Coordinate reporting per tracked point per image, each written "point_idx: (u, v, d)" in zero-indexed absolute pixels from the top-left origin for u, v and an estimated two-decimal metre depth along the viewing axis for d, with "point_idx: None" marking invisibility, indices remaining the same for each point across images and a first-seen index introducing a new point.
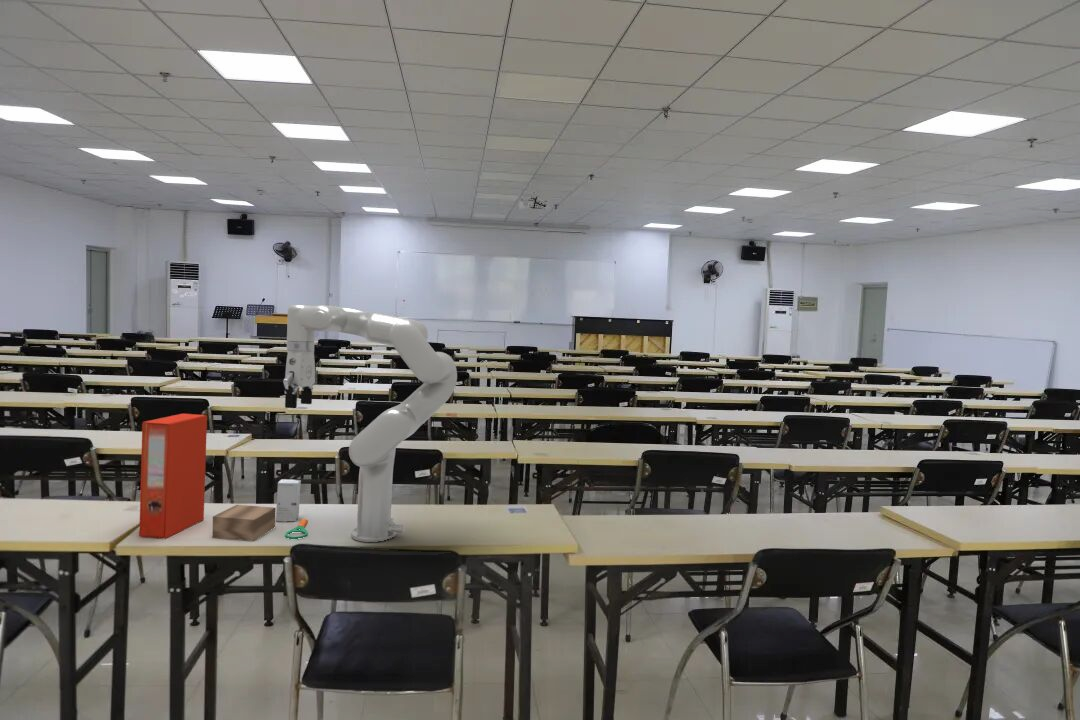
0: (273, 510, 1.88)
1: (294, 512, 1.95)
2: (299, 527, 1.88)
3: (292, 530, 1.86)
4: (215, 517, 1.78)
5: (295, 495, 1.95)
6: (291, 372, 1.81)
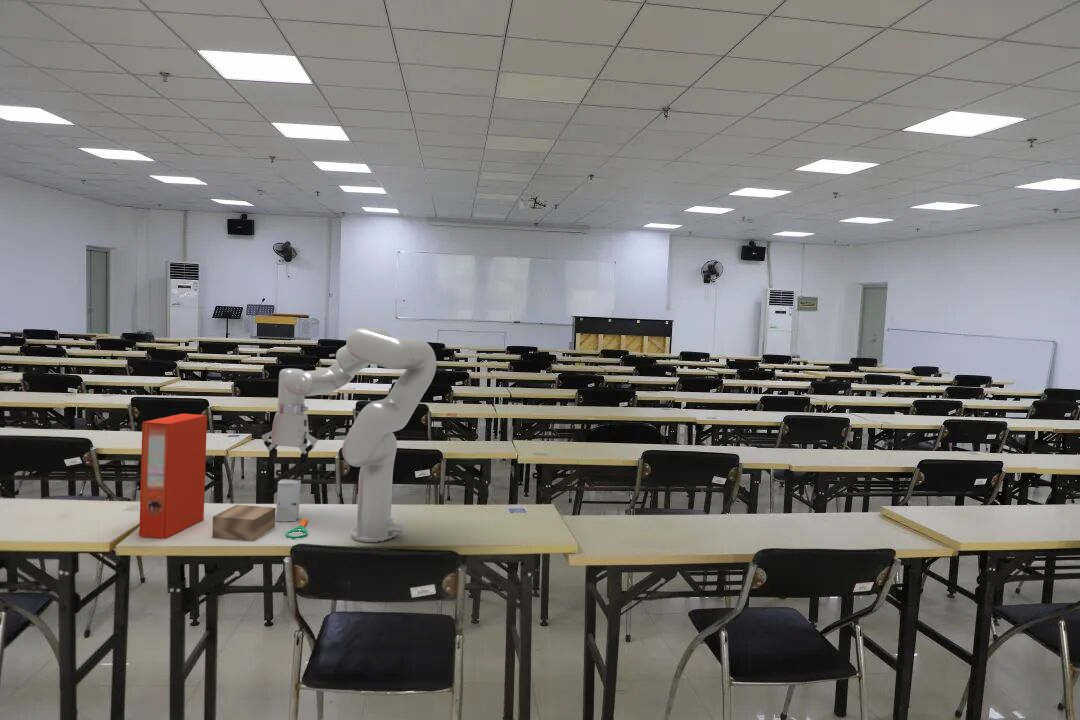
0: (273, 510, 1.88)
1: (294, 512, 1.95)
2: (299, 527, 1.89)
3: (292, 530, 1.86)
4: (215, 517, 1.78)
5: (295, 495, 1.95)
6: (305, 433, 1.96)
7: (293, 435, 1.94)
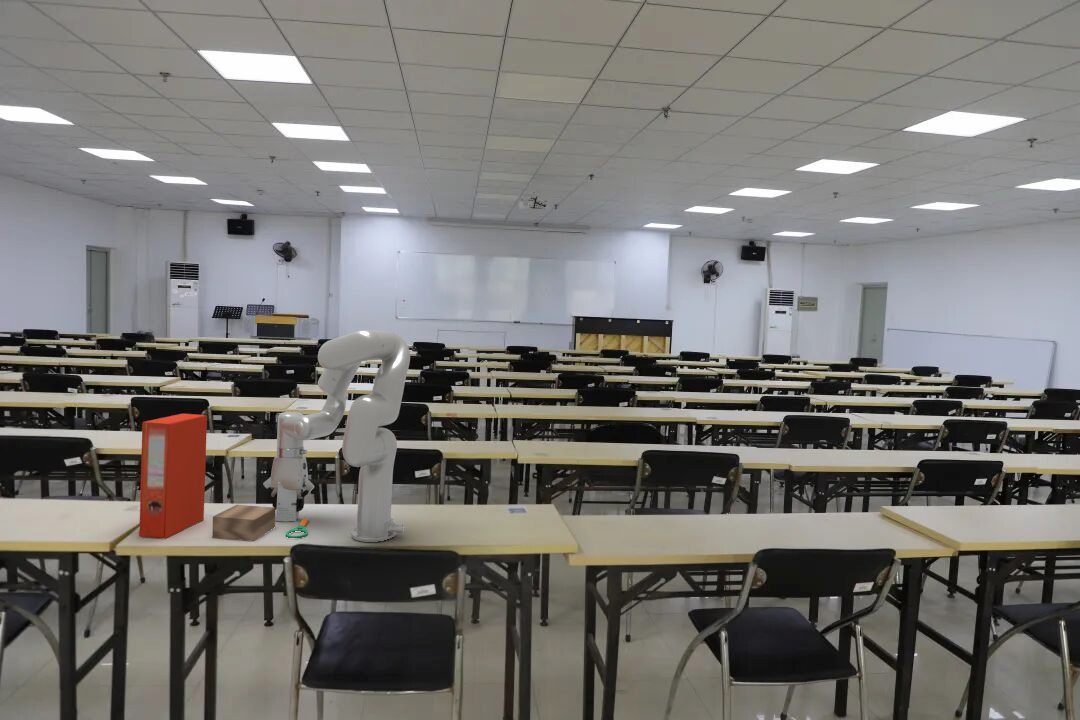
0: (273, 510, 1.88)
1: (294, 512, 1.95)
2: (300, 526, 1.89)
3: (293, 529, 1.86)
4: (215, 517, 1.78)
5: (295, 495, 1.95)
6: (304, 477, 1.96)
7: (292, 479, 1.94)
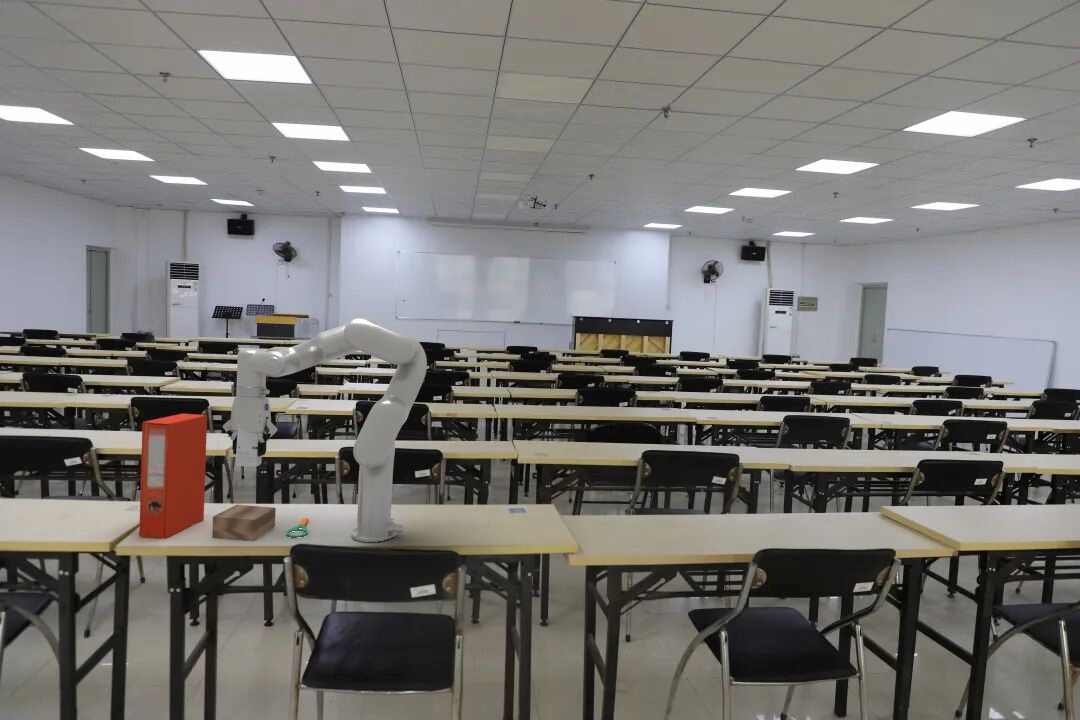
0: (273, 510, 1.88)
1: (255, 456, 1.82)
2: (300, 526, 1.89)
3: (293, 529, 1.87)
4: (215, 517, 1.78)
5: (256, 438, 1.82)
6: (266, 419, 1.82)
7: (253, 420, 1.80)
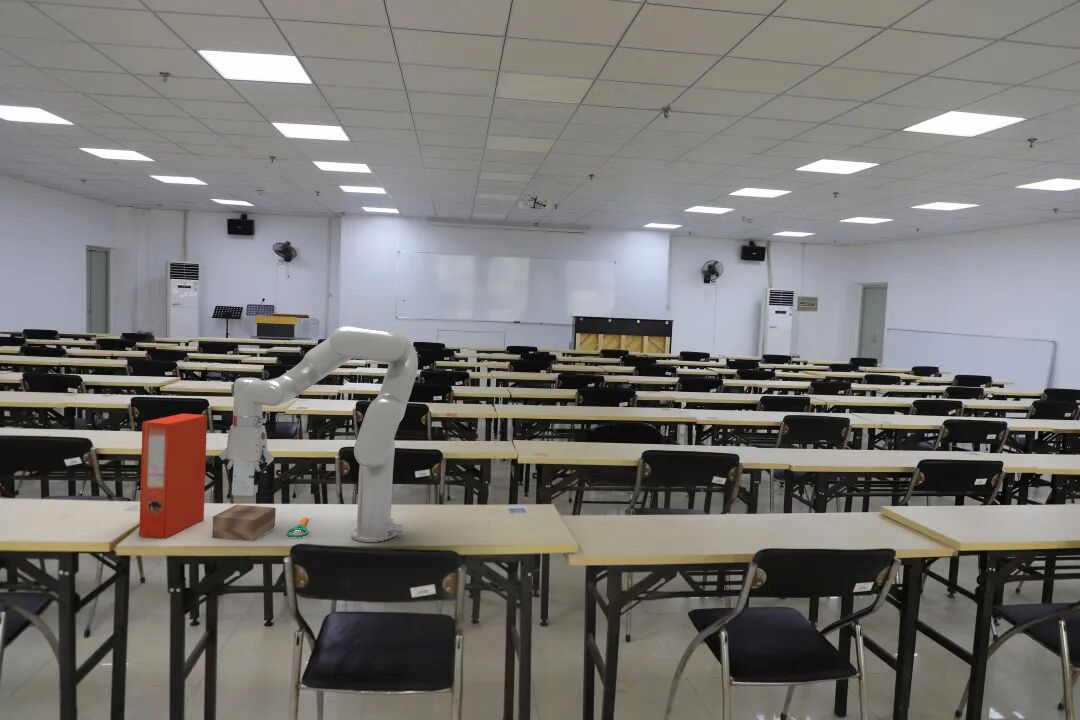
0: (273, 510, 1.88)
1: (252, 485, 1.81)
2: (300, 526, 1.90)
3: (293, 528, 1.87)
4: (215, 517, 1.78)
5: (253, 467, 1.81)
6: (263, 448, 1.82)
7: (250, 449, 1.80)
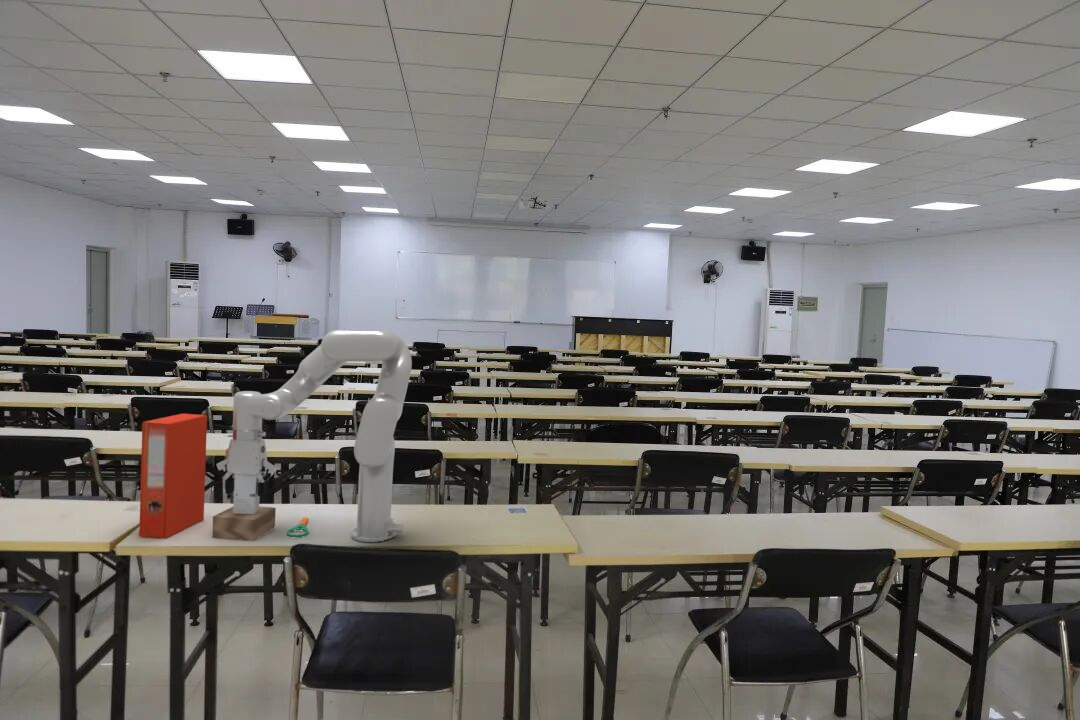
0: (273, 510, 1.88)
1: (253, 504, 1.82)
2: (300, 525, 1.90)
3: (293, 528, 1.87)
4: (215, 517, 1.78)
5: (254, 486, 1.81)
6: (263, 460, 1.82)
7: (249, 463, 1.80)
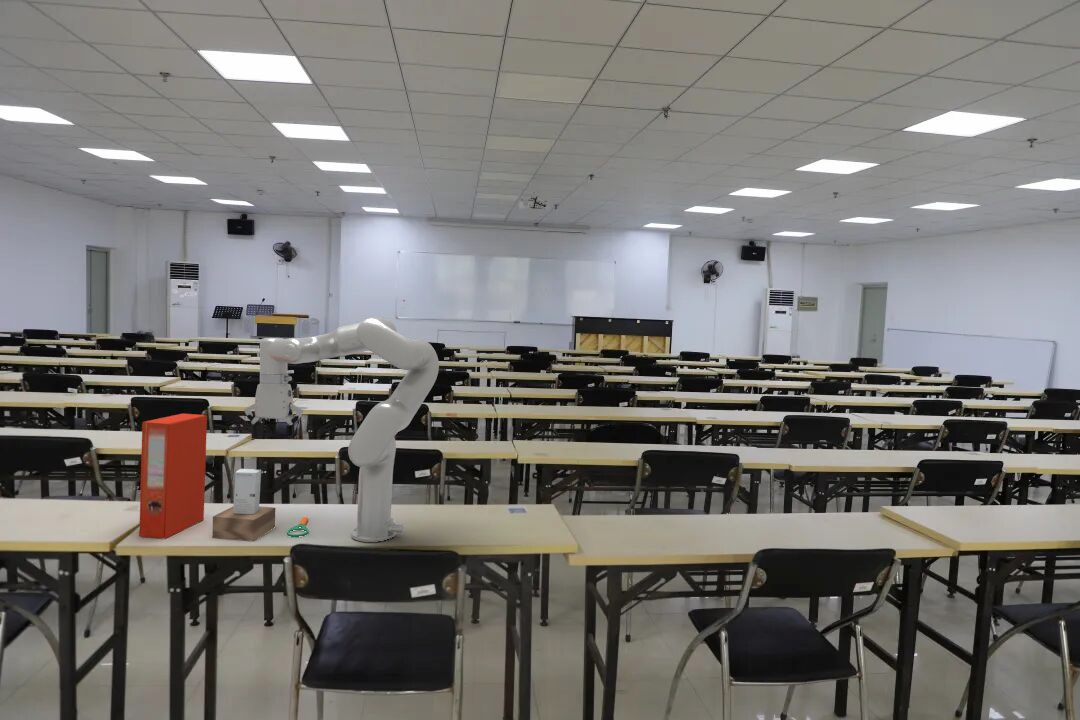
0: (273, 510, 1.88)
1: (253, 504, 1.82)
2: (300, 525, 1.90)
3: (293, 528, 1.87)
4: (215, 517, 1.78)
5: (254, 486, 1.81)
6: (290, 403, 1.88)
7: (277, 406, 1.86)
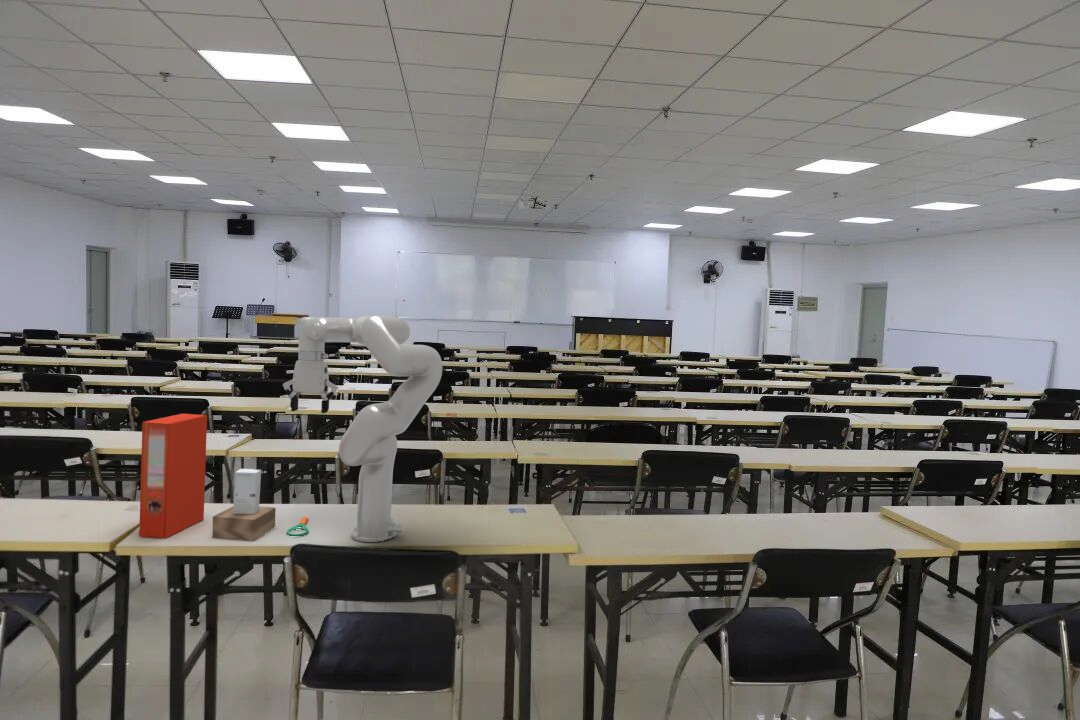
0: (273, 510, 1.88)
1: (253, 504, 1.82)
2: (300, 525, 1.90)
3: (293, 528, 1.88)
4: (215, 517, 1.78)
5: (254, 486, 1.81)
6: (326, 380, 1.98)
7: (314, 382, 1.96)
